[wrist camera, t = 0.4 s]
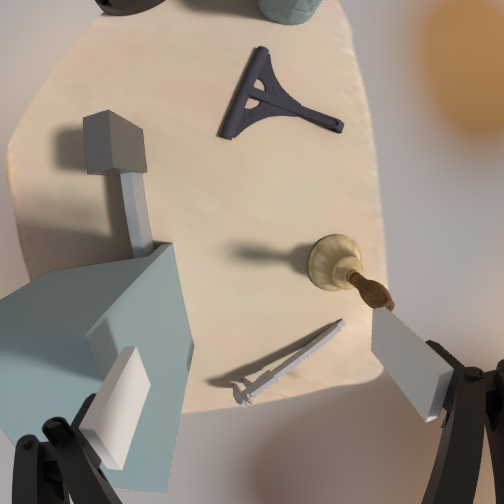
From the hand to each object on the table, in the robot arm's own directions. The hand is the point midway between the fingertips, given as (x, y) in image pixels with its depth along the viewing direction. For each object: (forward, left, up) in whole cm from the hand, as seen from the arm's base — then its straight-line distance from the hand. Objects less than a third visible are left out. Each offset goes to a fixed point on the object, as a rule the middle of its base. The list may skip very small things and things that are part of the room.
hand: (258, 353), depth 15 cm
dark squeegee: (-18, +9, -26) cm, 33 cm away
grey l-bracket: (-8, -13, -26) cm, 30 cm away
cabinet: (+6, -17, -26) cm, 31 cm away
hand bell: (+4, +13, -26) cm, 29 cm away
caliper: (+18, +5, -26) cm, 32 cm away
